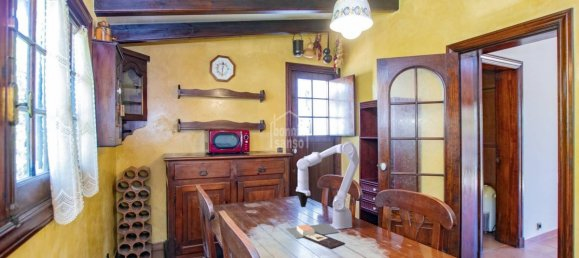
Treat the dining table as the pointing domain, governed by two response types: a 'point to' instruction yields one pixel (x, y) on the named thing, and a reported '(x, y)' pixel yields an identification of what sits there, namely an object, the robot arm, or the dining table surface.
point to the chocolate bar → (323, 240)
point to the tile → (305, 229)
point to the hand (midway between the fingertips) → (303, 206)
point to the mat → (318, 228)
